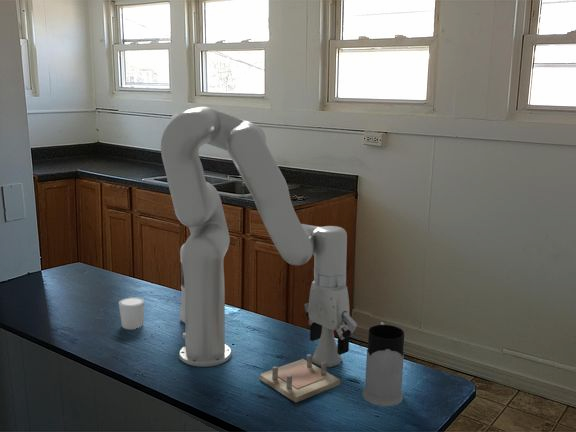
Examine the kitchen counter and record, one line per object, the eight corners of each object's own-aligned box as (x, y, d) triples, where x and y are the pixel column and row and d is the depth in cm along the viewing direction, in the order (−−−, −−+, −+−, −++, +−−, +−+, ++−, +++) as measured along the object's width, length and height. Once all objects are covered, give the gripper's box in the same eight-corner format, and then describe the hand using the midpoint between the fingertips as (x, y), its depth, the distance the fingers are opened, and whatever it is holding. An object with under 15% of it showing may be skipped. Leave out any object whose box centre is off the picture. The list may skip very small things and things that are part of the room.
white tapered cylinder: (127, 332, 163) (126, 307, 162) (115, 324, 168) (114, 300, 167) (150, 326, 168) (149, 301, 166) (138, 318, 173) (137, 295, 171)
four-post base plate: (259, 379, 140) (259, 362, 139) (302, 363, 148) (303, 348, 147) (295, 402, 130) (296, 385, 129) (340, 384, 138) (340, 368, 137)
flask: (322, 352, 154) (323, 314, 152) (346, 359, 150) (348, 321, 148) (305, 362, 148) (306, 323, 146) (331, 370, 144) (332, 331, 142)
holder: (363, 405, 129) (367, 339, 126) (359, 373, 143) (362, 313, 140) (405, 407, 129) (410, 341, 126) (397, 375, 143) (401, 314, 140)
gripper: (294, 273, 149) (294, 338, 153) (344, 291, 136) (342, 363, 140) (317, 267, 153) (316, 330, 157) (367, 284, 140) (365, 353, 144)
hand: (329, 346), depth 148 cm, fingers open, 9 cm apart
